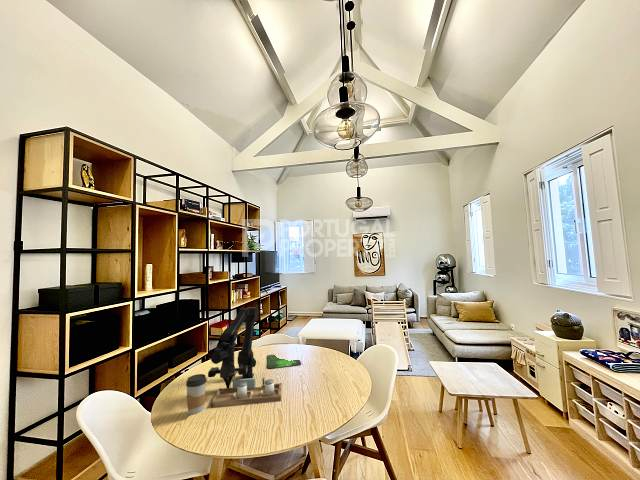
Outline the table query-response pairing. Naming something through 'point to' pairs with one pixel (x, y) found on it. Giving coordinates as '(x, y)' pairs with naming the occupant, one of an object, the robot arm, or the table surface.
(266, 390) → the grey pin
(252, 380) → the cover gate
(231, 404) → the tray
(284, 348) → the table surface
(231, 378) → the robot arm
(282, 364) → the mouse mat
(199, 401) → the coffee cup
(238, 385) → the pin
